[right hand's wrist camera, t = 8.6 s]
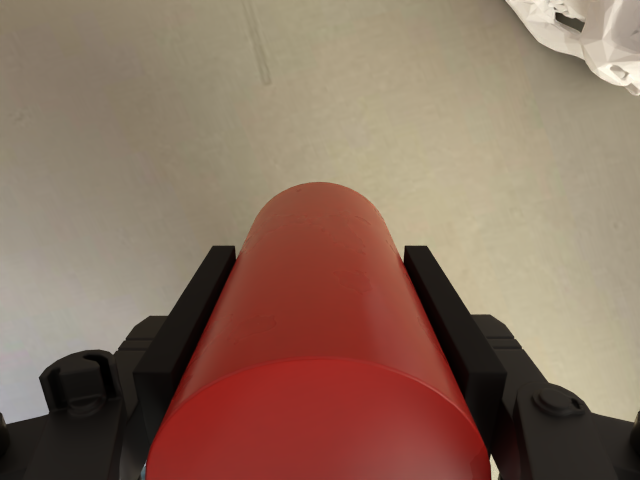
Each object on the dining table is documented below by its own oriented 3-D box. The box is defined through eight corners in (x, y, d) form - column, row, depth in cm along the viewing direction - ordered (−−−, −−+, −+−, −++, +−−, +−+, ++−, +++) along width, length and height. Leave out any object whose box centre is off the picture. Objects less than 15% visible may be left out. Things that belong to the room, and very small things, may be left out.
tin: (395, 182, 16) (523, 358, 6) (385, 313, 18) (466, 605, 8) (243, 180, 16) (115, 355, 6) (251, 312, 18) (167, 603, 8)
